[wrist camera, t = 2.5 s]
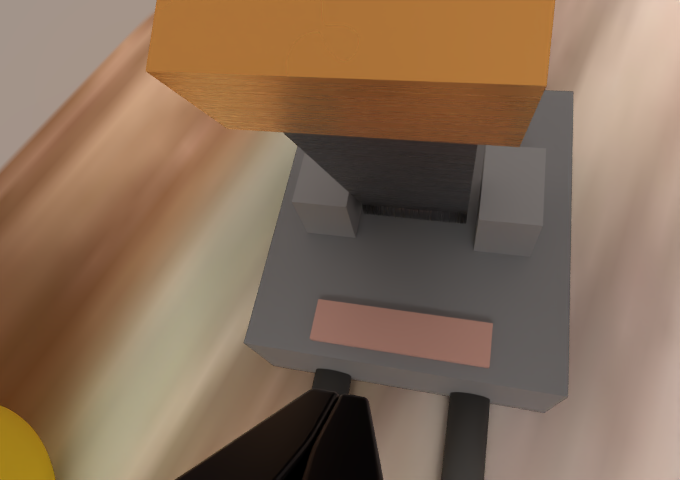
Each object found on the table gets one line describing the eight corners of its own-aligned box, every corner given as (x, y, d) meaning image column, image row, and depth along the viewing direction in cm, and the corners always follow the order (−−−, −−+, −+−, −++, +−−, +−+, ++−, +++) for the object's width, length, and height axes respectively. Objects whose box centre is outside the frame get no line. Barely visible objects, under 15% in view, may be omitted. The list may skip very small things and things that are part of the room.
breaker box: (544, 412, 16) (588, 382, 11) (273, 365, 18) (218, 323, 13) (553, 147, 20) (589, 45, 15) (330, 133, 22) (303, 40, 17)
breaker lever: (482, 230, 16) (546, 86, 5) (353, 217, 16) (145, 70, 5) (488, 175, 16) (565, -98, 5) (359, 165, 17) (169, -82, 6)
